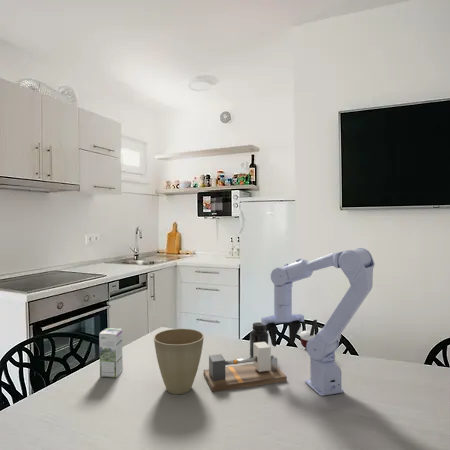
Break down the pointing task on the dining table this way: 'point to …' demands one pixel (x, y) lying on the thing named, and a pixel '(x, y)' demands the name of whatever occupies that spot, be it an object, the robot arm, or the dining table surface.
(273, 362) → the rail
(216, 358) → the block
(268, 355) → the sleeve
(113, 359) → the syrup box
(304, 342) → the cocoa
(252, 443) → the dining table surface
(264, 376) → the board
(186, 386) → the plant pot
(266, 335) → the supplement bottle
